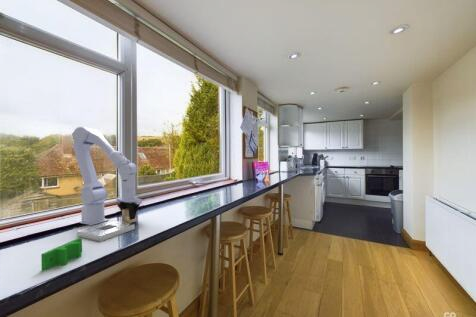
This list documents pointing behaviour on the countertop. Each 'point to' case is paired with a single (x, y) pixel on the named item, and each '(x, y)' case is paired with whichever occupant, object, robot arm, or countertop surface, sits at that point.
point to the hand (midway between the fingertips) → (129, 218)
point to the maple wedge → (127, 216)
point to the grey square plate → (105, 230)
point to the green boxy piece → (62, 254)
